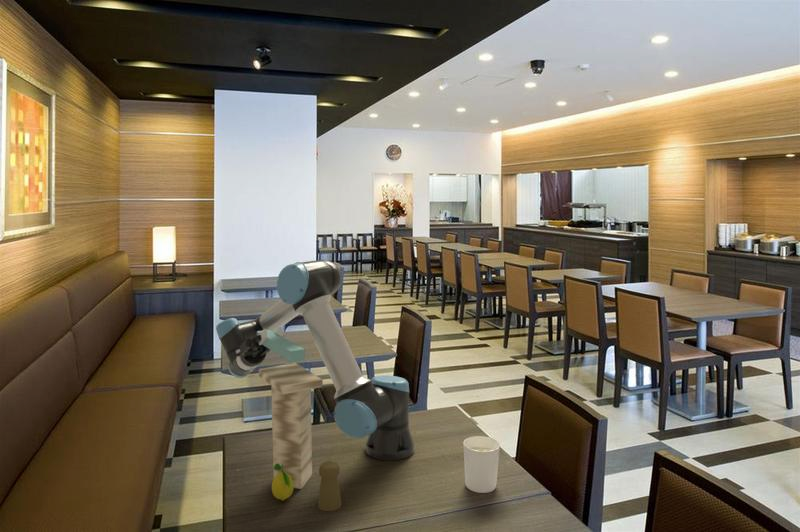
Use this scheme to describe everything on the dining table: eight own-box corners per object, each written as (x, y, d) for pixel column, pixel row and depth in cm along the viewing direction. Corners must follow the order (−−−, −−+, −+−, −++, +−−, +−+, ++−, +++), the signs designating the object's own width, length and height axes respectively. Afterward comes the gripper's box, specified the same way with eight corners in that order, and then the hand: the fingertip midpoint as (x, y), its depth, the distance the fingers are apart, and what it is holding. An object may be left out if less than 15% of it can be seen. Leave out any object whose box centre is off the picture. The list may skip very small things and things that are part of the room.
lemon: (274, 493, 150) (273, 457, 149) (296, 493, 150) (295, 457, 148) (267, 506, 143) (266, 469, 142) (290, 507, 143) (289, 469, 142)
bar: (256, 341, 169) (256, 331, 169) (269, 339, 171) (269, 329, 171) (290, 362, 147) (290, 351, 147) (304, 360, 150) (304, 349, 149)
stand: (298, 460, 168) (296, 362, 165) (324, 486, 153) (323, 379, 150) (261, 470, 162) (258, 369, 159) (284, 498, 147) (282, 387, 144)
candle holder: (501, 480, 157) (502, 438, 156) (495, 497, 148) (496, 453, 147) (466, 474, 160) (467, 433, 159) (458, 491, 151) (459, 448, 150)
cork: (343, 499, 147) (343, 458, 146) (338, 511, 141) (338, 470, 140) (320, 497, 148) (320, 457, 146) (315, 510, 142) (314, 468, 140)
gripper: (279, 362, 184) (304, 340, 166) (226, 371, 175) (246, 349, 156) (274, 340, 186) (298, 316, 168) (222, 348, 177) (241, 323, 159)
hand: (273, 332), depth 162 cm, fingers closed on bar, 4 cm apart
